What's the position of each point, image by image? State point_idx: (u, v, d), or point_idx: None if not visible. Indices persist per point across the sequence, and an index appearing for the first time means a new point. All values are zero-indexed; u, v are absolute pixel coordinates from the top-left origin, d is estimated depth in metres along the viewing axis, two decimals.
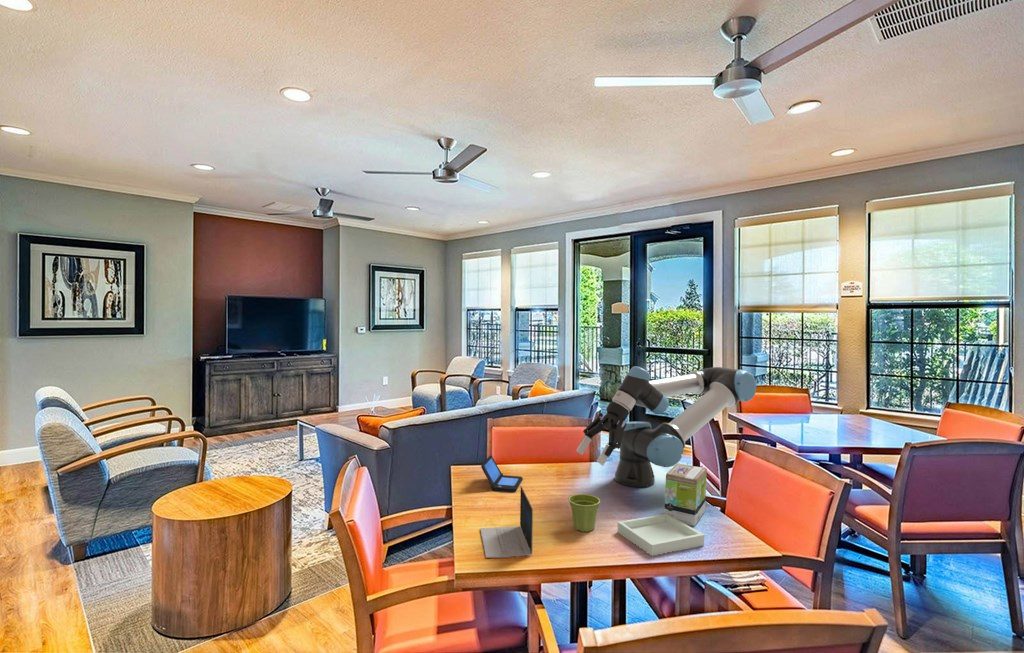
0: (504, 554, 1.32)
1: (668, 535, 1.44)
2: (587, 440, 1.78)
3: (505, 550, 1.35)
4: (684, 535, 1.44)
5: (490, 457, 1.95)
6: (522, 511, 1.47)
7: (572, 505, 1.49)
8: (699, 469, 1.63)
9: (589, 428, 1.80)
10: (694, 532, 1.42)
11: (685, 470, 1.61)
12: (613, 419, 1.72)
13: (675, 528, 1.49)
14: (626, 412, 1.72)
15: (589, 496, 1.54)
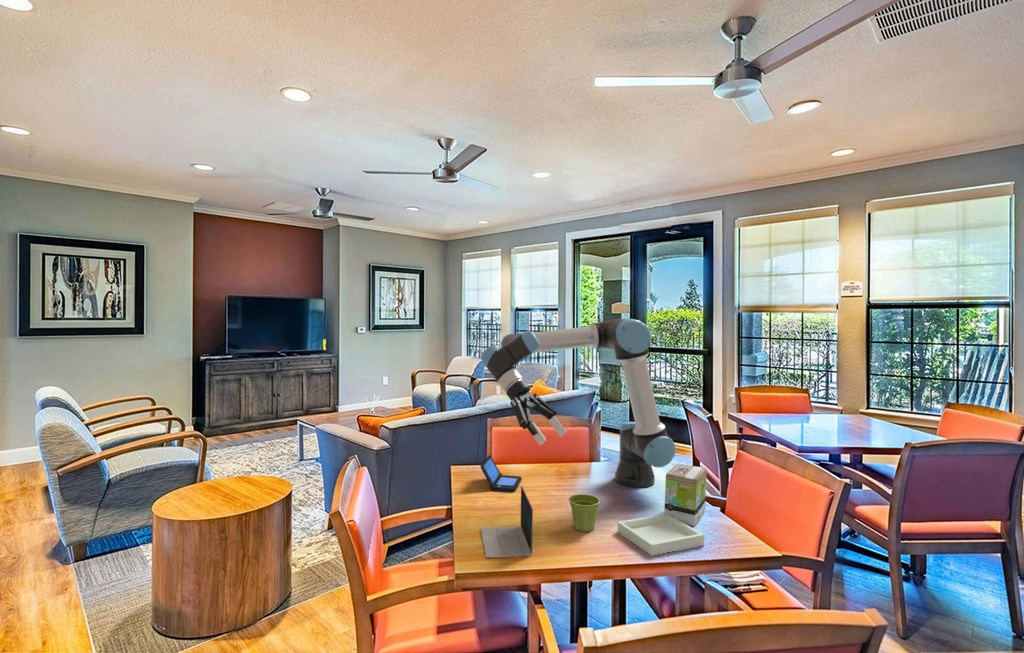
0: (504, 554, 1.32)
1: (668, 535, 1.44)
2: (553, 421, 1.63)
3: (505, 550, 1.35)
4: (684, 535, 1.44)
5: (489, 457, 1.95)
6: (522, 511, 1.47)
7: (572, 505, 1.49)
8: (699, 469, 1.63)
9: None
10: (694, 532, 1.42)
11: (685, 470, 1.61)
12: None
13: (675, 528, 1.49)
14: (512, 388, 1.60)
15: (589, 496, 1.54)
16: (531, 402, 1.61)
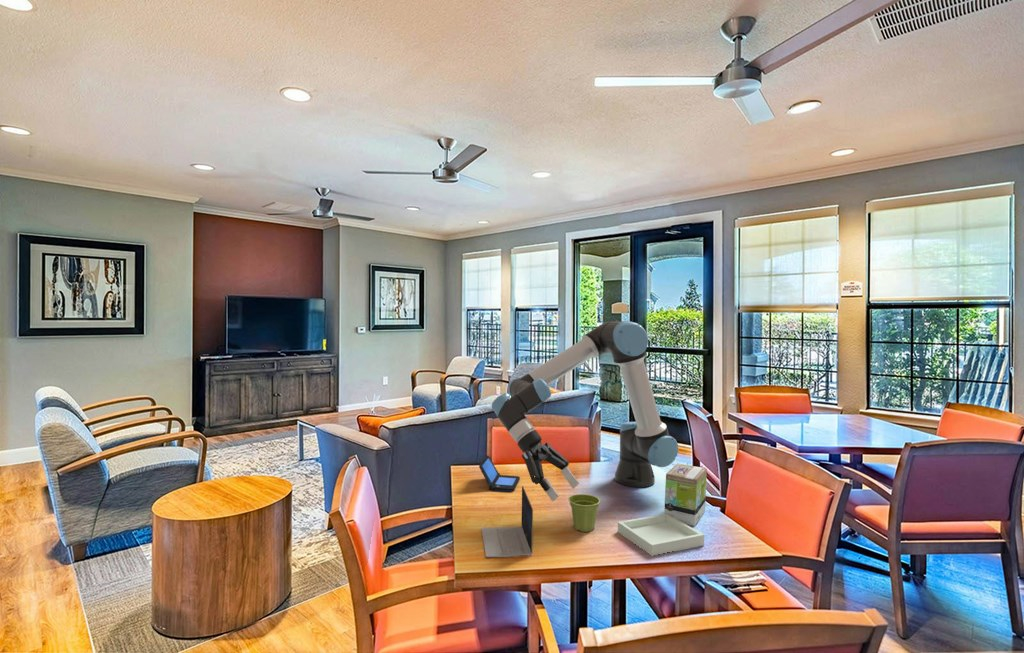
0: (504, 554, 1.32)
1: (668, 535, 1.44)
2: (565, 472, 1.60)
3: (505, 550, 1.35)
4: (684, 535, 1.44)
5: (487, 457, 1.95)
6: (523, 511, 1.47)
7: (572, 505, 1.49)
8: (699, 469, 1.63)
9: None
10: (694, 532, 1.42)
11: (685, 470, 1.61)
12: None
13: (675, 528, 1.49)
14: (523, 439, 1.57)
15: (589, 496, 1.54)
16: (543, 453, 1.58)
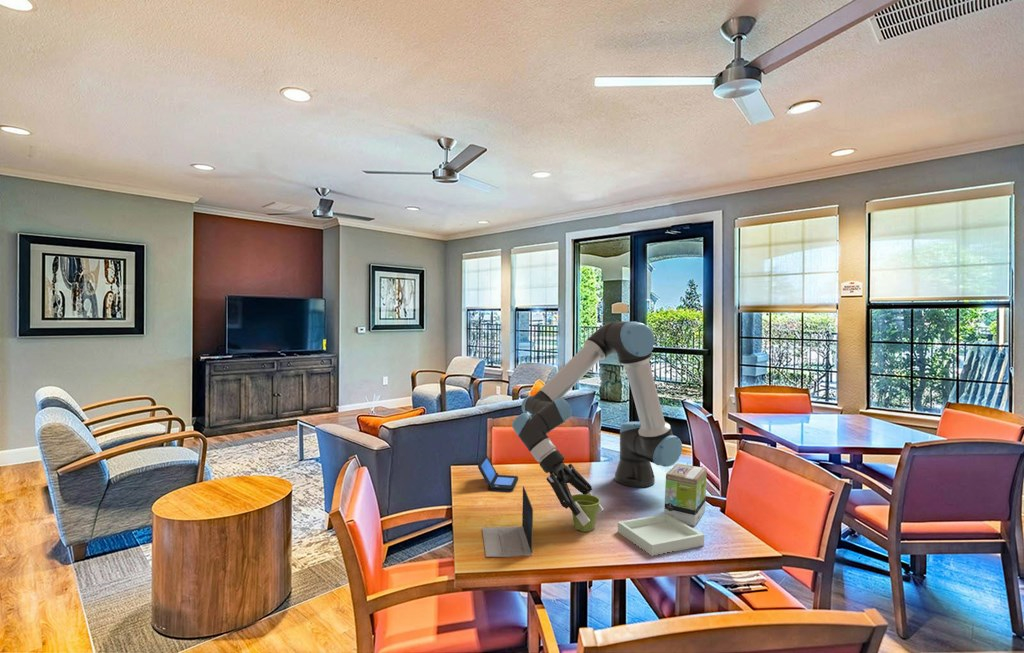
0: (504, 554, 1.33)
1: (668, 535, 1.44)
2: None
3: (505, 549, 1.35)
4: (684, 535, 1.44)
5: (485, 457, 1.95)
6: (524, 511, 1.47)
7: None
8: (699, 469, 1.63)
9: None
10: (694, 532, 1.42)
11: (685, 470, 1.61)
12: None
13: (675, 528, 1.49)
14: (546, 460, 1.53)
15: (589, 496, 1.54)
16: (566, 474, 1.54)
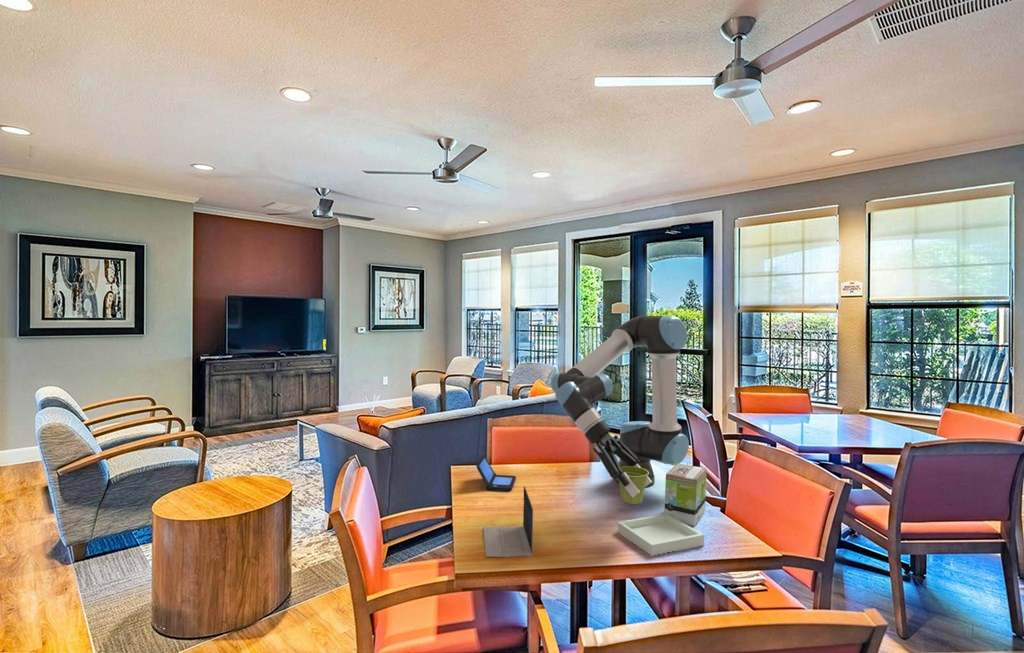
0: (504, 553, 1.33)
1: (668, 535, 1.44)
2: None
3: (505, 549, 1.35)
4: (684, 535, 1.44)
5: (483, 457, 1.95)
6: (525, 511, 1.47)
7: None
8: (699, 469, 1.63)
9: None
10: (694, 532, 1.42)
11: (685, 470, 1.61)
12: None
13: (675, 528, 1.49)
14: (592, 430, 1.48)
15: (636, 468, 1.48)
16: (613, 445, 1.48)
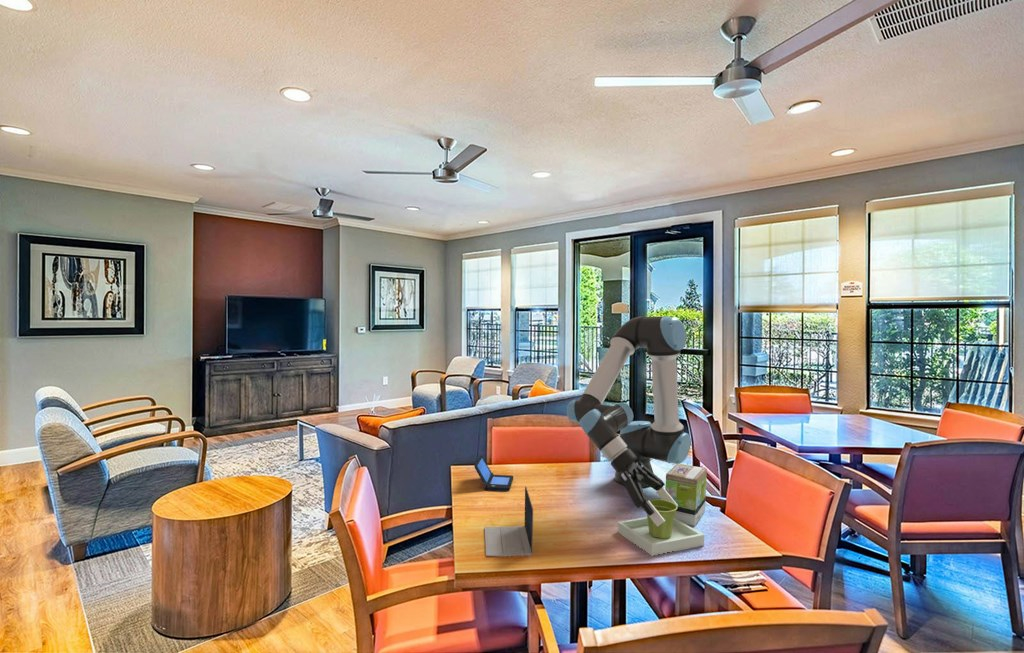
0: (504, 553, 1.33)
1: None
2: (661, 493, 1.50)
3: (505, 549, 1.35)
4: (684, 535, 1.44)
5: (481, 457, 1.95)
6: (526, 511, 1.47)
7: None
8: (699, 469, 1.63)
9: None
10: (694, 532, 1.42)
11: (685, 470, 1.61)
12: None
13: (675, 528, 1.49)
14: (619, 459, 1.47)
15: (663, 501, 1.48)
16: (639, 474, 1.48)
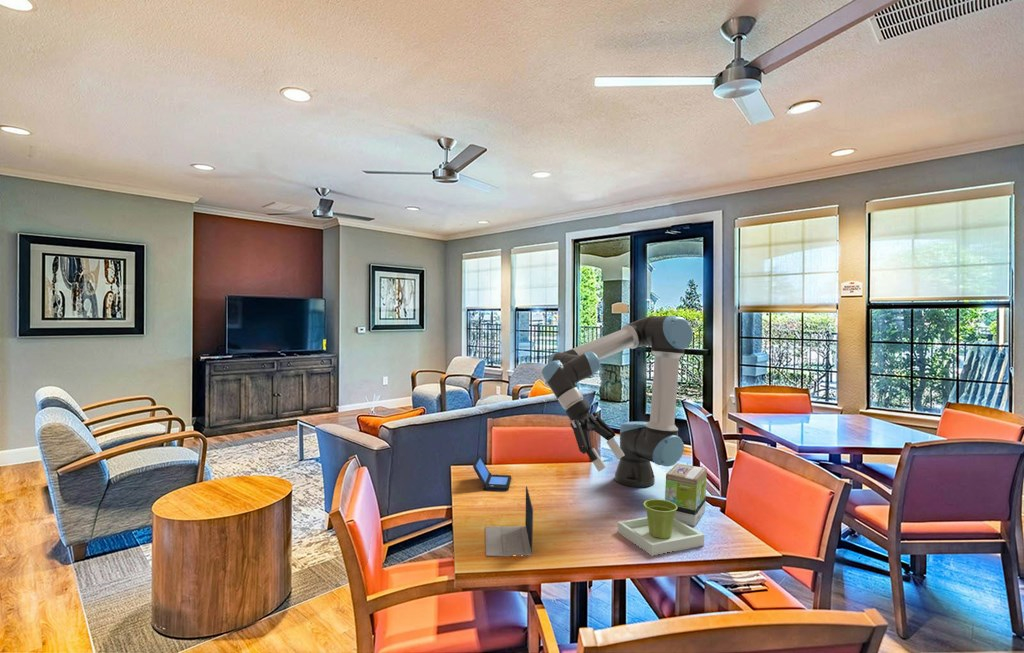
0: (504, 553, 1.33)
1: None
2: (611, 443, 1.60)
3: (506, 549, 1.35)
4: (684, 535, 1.44)
5: (479, 457, 1.95)
6: None
7: (649, 511, 1.42)
8: (699, 469, 1.63)
9: None
10: (694, 532, 1.42)
11: (685, 470, 1.61)
12: None
13: (675, 528, 1.49)
14: (573, 408, 1.56)
15: (663, 501, 1.48)
16: (591, 423, 1.57)
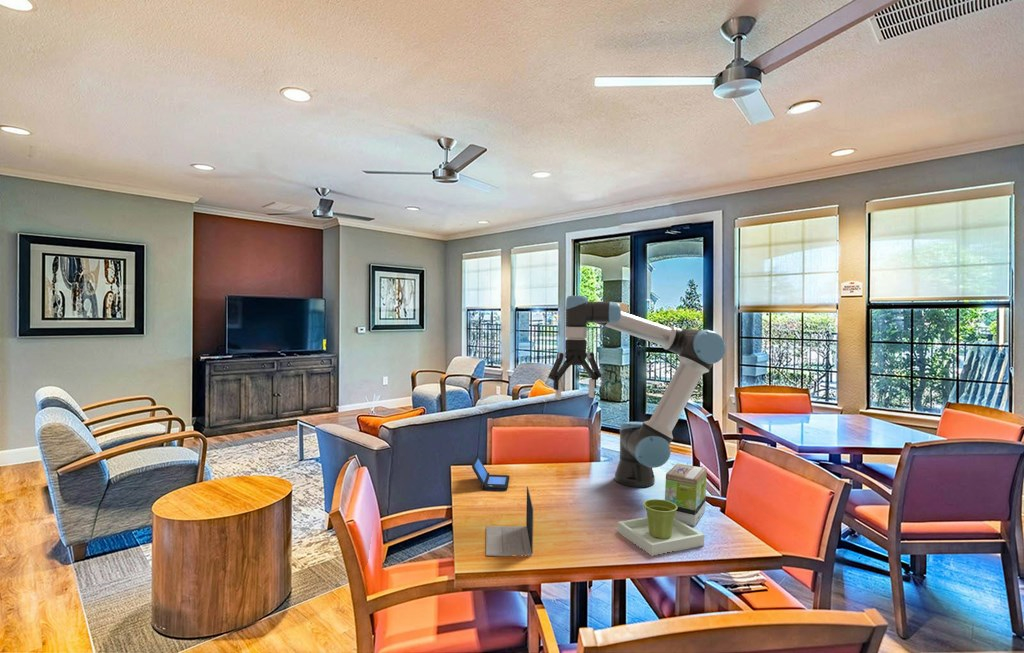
0: (504, 553, 1.33)
1: None
2: (590, 382, 1.80)
3: (506, 549, 1.35)
4: (684, 535, 1.44)
5: (477, 457, 1.95)
6: (527, 511, 1.47)
7: (649, 511, 1.42)
8: (699, 469, 1.63)
9: (593, 370, 1.82)
10: (694, 532, 1.42)
11: (685, 470, 1.61)
12: None
13: (675, 528, 1.49)
14: (568, 342, 1.76)
15: (663, 501, 1.48)
16: (578, 361, 1.77)
